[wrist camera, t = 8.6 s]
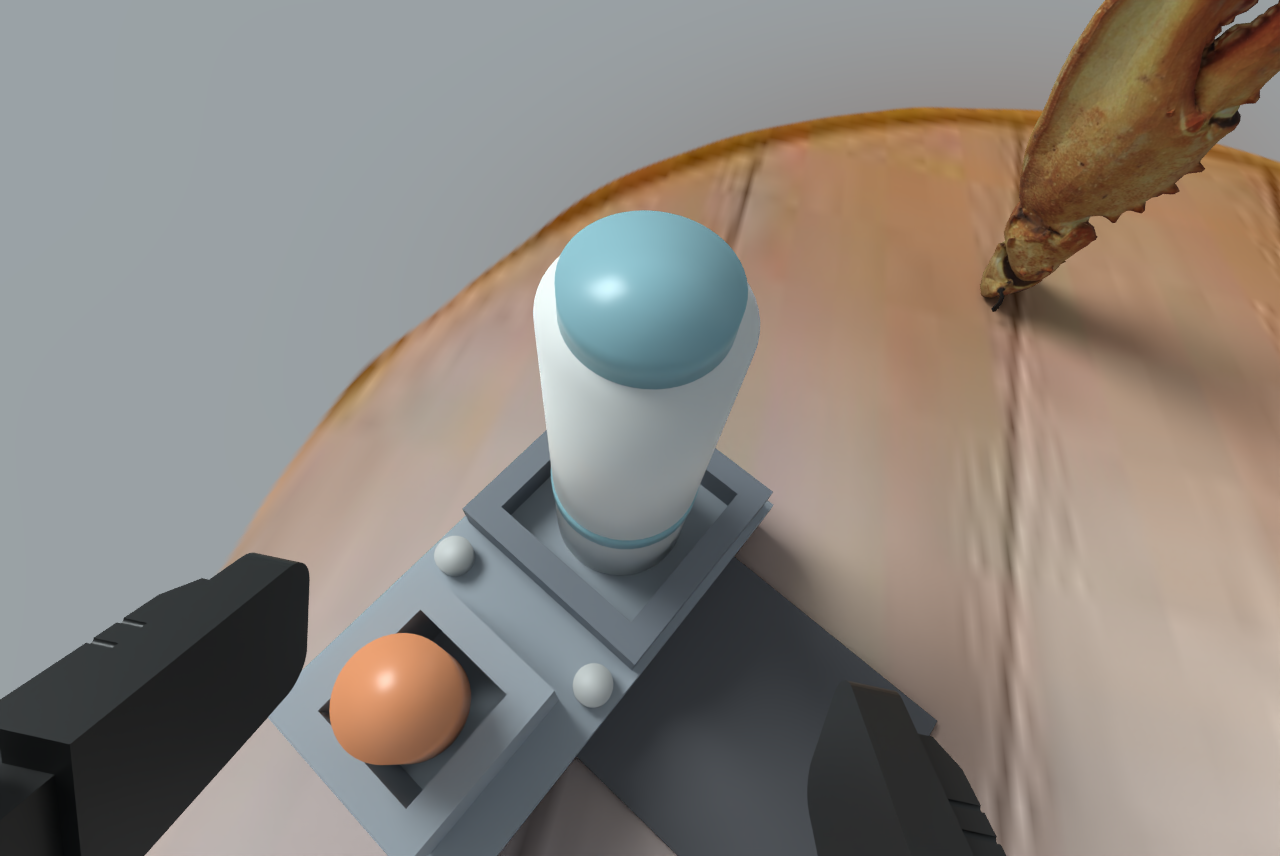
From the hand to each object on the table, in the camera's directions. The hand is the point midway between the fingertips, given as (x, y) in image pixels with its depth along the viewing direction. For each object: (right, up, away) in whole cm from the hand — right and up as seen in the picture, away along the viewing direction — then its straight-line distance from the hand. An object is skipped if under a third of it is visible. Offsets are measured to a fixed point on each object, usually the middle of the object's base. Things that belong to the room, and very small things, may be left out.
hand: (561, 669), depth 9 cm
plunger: (-5, -5, +9) cm, 12 cm away
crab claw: (+20, +11, +27) cm, 35 cm away
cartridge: (0, 0, +16) cm, 16 cm away
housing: (-2, -4, +17) cm, 17 cm away
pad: (+6, -8, +15) cm, 18 cm away
